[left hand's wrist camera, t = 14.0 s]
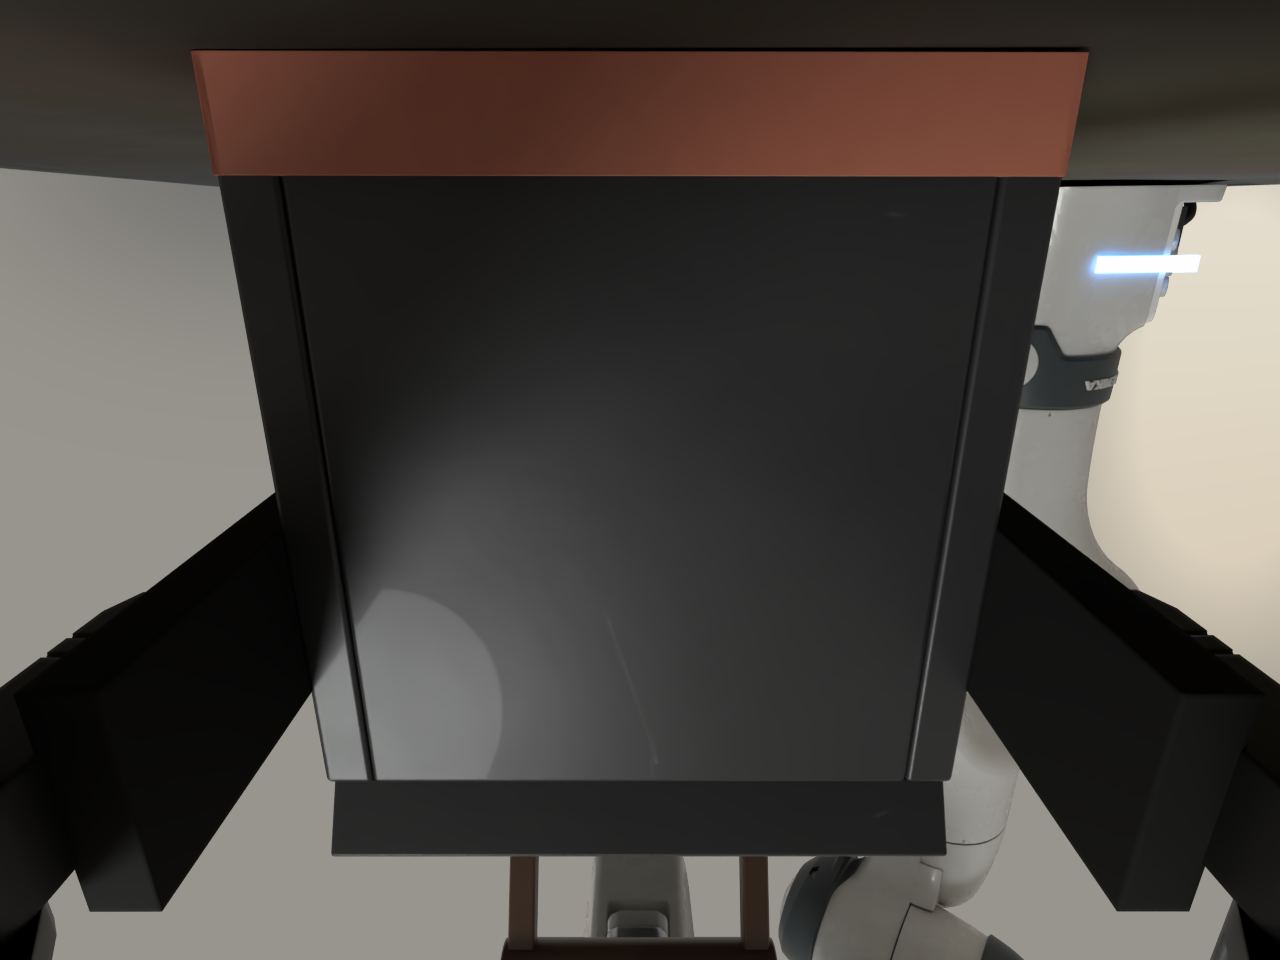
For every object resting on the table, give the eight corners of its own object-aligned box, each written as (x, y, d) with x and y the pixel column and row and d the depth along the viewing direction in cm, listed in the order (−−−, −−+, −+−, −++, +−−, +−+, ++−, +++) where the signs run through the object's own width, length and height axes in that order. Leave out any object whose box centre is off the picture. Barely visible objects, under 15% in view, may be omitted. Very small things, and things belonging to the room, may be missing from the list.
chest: (833, 143, 19) (802, 510, 22) (445, 143, 19) (475, 510, 22) (1090, 50, 8) (953, 784, 12) (190, 50, 8) (324, 784, 12)
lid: (790, 677, 24) (796, 940, 23) (488, 677, 24) (480, 940, 23) (944, 776, 12) (975, 1344, 11) (333, 776, 12) (302, 1345, 11)
